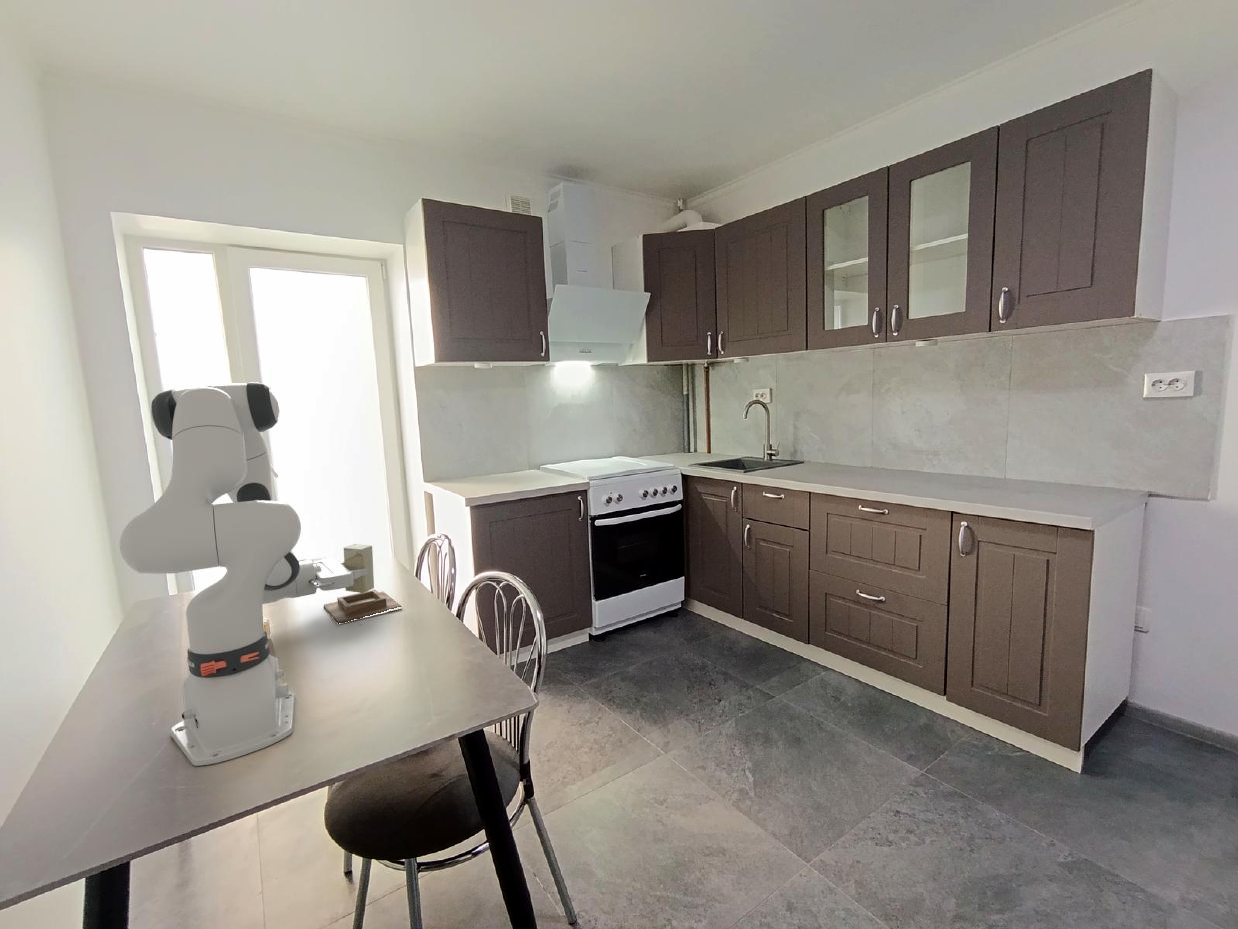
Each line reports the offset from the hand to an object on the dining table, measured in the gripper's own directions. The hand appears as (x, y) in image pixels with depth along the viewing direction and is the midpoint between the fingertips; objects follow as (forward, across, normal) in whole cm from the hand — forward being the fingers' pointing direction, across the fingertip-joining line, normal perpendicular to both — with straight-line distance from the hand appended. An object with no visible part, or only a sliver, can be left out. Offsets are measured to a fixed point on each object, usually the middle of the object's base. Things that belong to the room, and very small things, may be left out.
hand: (362, 567), depth 157 cm
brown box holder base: (-1, 0, +12) cm, 12 cm away
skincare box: (-1, 0, +6) cm, 6 cm away
